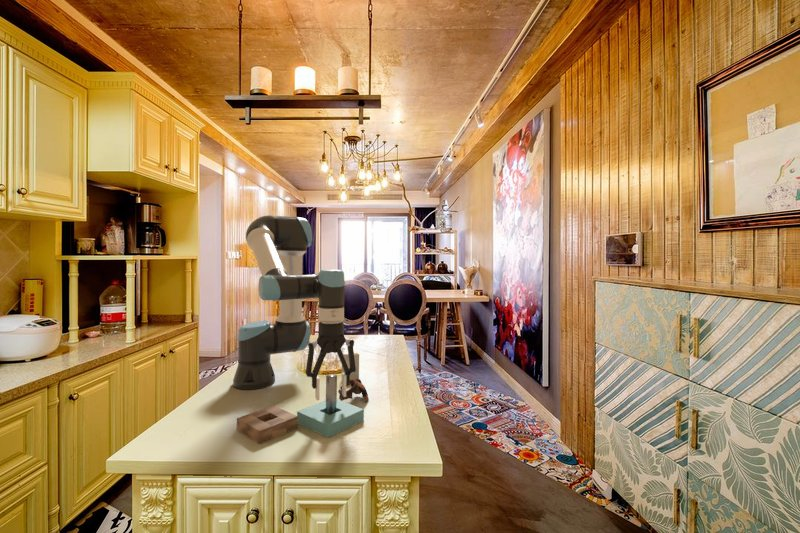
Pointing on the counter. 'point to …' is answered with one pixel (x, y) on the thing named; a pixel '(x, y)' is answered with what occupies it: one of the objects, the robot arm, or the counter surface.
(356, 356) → the white box
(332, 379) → the pin
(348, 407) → the dock socket
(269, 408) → the pin mount
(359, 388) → the brown ring with knob
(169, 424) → the counter surface
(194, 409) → the counter surface
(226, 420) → the counter surface
